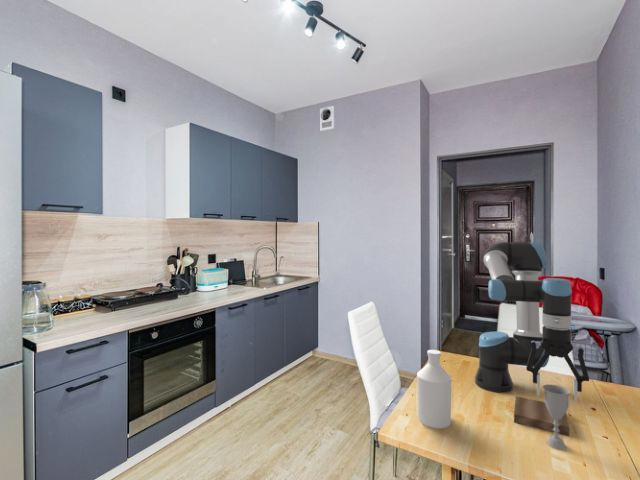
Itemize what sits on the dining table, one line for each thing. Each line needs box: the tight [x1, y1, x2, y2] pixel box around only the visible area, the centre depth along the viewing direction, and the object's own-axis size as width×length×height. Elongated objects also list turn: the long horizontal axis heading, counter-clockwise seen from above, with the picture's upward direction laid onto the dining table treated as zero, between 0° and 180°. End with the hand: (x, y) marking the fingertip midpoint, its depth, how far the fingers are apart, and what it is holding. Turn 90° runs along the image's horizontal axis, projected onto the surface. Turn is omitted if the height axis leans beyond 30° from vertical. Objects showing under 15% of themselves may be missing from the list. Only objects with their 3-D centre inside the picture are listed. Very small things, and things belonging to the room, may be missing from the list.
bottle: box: [416, 349, 452, 430], centre depth 123 cm, size 12×12×25 cm
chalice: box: [542, 384, 571, 451], centre depth 108 cm, size 7×7×18 cm
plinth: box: [513, 395, 570, 437], centre depth 124 cm, size 16×16×3 cm
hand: (556, 397), depth 108 cm, fingers open, 9 cm apart
